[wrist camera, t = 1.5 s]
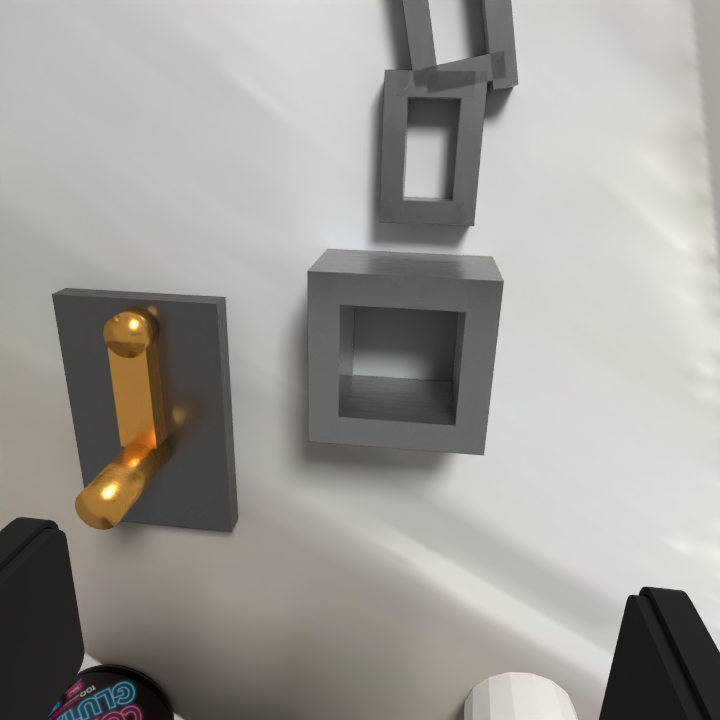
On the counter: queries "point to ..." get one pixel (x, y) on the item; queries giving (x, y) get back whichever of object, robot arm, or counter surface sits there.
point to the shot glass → (518, 699)
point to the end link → (397, 395)
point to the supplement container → (112, 696)
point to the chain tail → (443, 83)
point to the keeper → (150, 407)
